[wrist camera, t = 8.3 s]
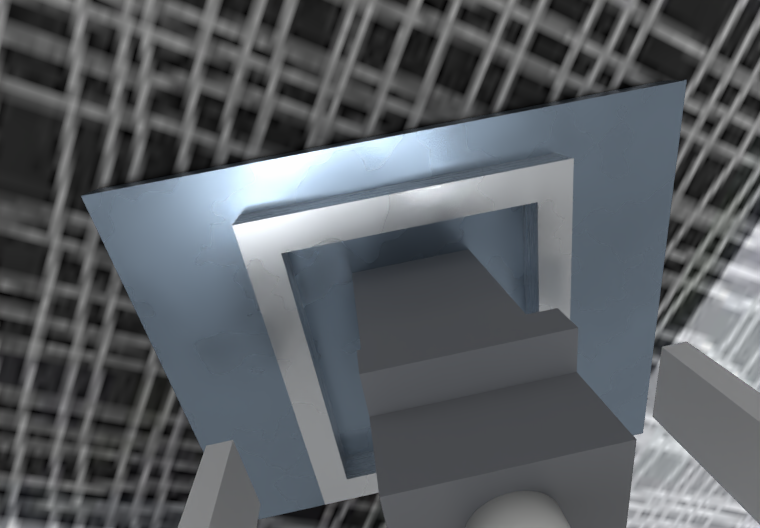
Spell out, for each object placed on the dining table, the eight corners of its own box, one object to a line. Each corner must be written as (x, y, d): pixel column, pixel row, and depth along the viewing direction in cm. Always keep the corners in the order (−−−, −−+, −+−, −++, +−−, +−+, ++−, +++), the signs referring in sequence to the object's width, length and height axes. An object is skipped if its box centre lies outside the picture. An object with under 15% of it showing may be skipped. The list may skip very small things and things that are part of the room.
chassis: (243, 507, 20) (233, 553, 18) (97, 189, 14) (58, 205, 12) (628, 421, 21) (660, 456, 19) (664, 80, 14) (718, 78, 12)
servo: (387, 435, 18) (446, 784, 9) (345, 245, 14) (373, 510, 5) (483, 414, 18) (636, 736, 9) (466, 221, 15) (694, 438, 5)
